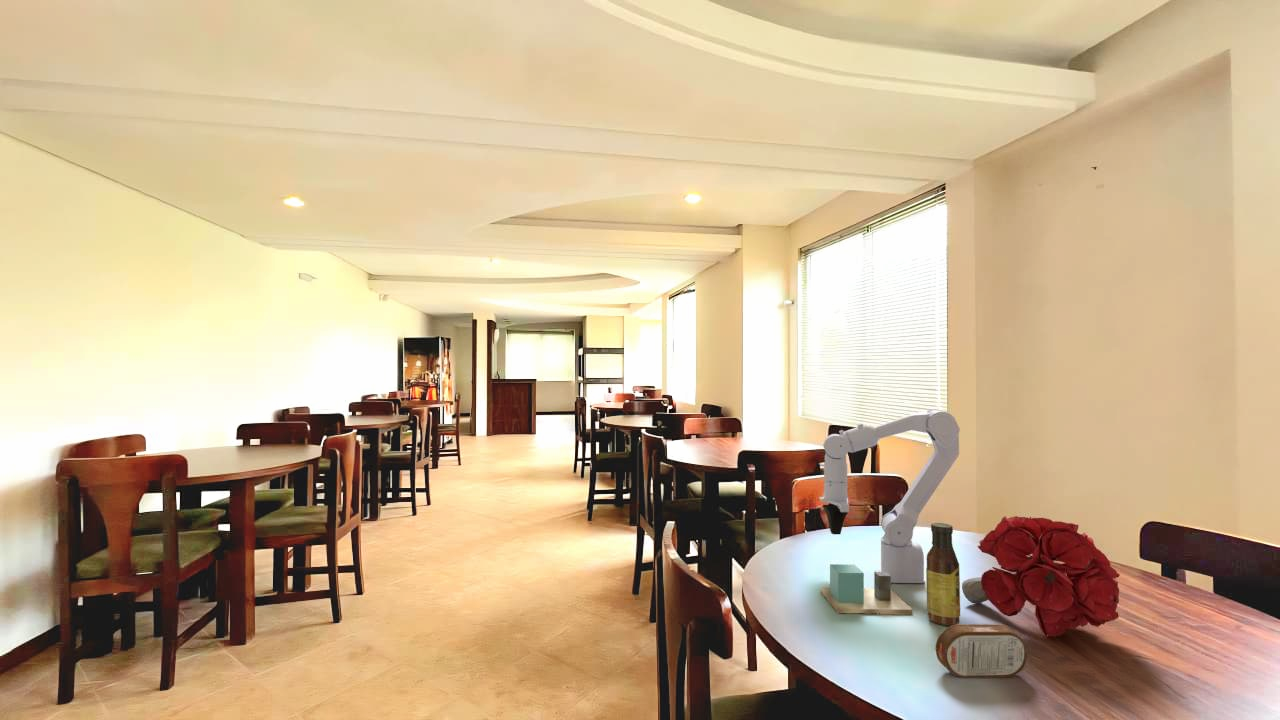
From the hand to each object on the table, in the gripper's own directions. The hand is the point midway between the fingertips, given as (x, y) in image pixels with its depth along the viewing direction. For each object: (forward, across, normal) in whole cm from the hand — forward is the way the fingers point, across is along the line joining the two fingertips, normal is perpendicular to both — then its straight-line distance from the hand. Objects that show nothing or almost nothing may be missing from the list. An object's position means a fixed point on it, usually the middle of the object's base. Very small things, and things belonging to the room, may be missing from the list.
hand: (835, 533), depth 152 cm
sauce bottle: (+10, +29, +13) cm, 33 cm away
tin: (+10, +51, +8) cm, 53 cm away
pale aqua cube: (+9, +20, -4) cm, 22 cm away
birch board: (+10, +20, 0) cm, 22 cm away
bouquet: (+10, +31, +31) cm, 45 cm away
